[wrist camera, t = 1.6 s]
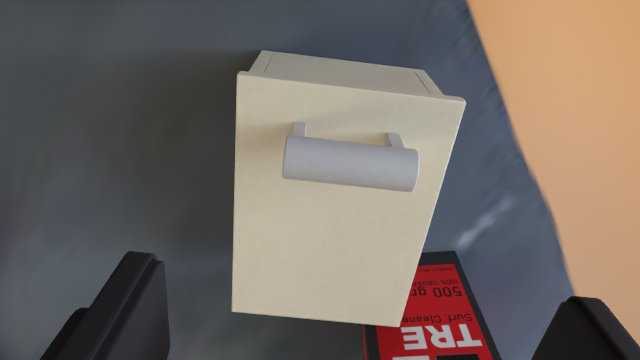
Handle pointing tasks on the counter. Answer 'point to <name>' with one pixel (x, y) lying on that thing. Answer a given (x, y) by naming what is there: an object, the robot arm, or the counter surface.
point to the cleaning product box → (434, 318)
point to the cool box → (344, 72)
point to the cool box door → (334, 195)
